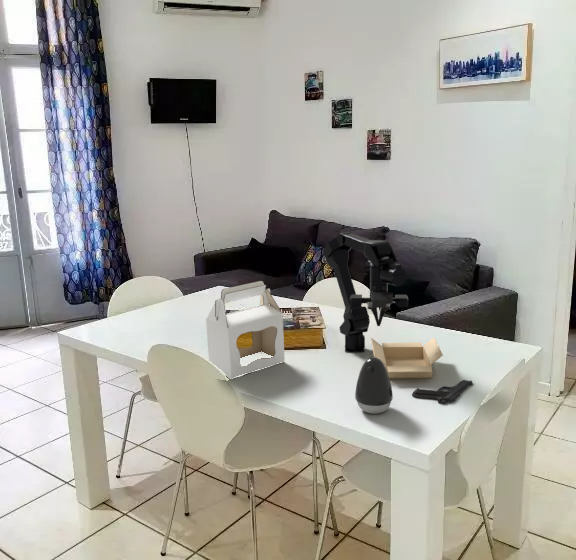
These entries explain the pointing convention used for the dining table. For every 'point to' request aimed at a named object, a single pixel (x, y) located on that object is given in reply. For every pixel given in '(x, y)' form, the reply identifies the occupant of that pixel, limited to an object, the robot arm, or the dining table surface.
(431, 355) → the flap
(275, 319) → the gable box
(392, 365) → the carton
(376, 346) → the flap
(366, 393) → the dark grey egg device
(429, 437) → the dining table surface
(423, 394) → the handgun
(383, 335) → the dining table surface
